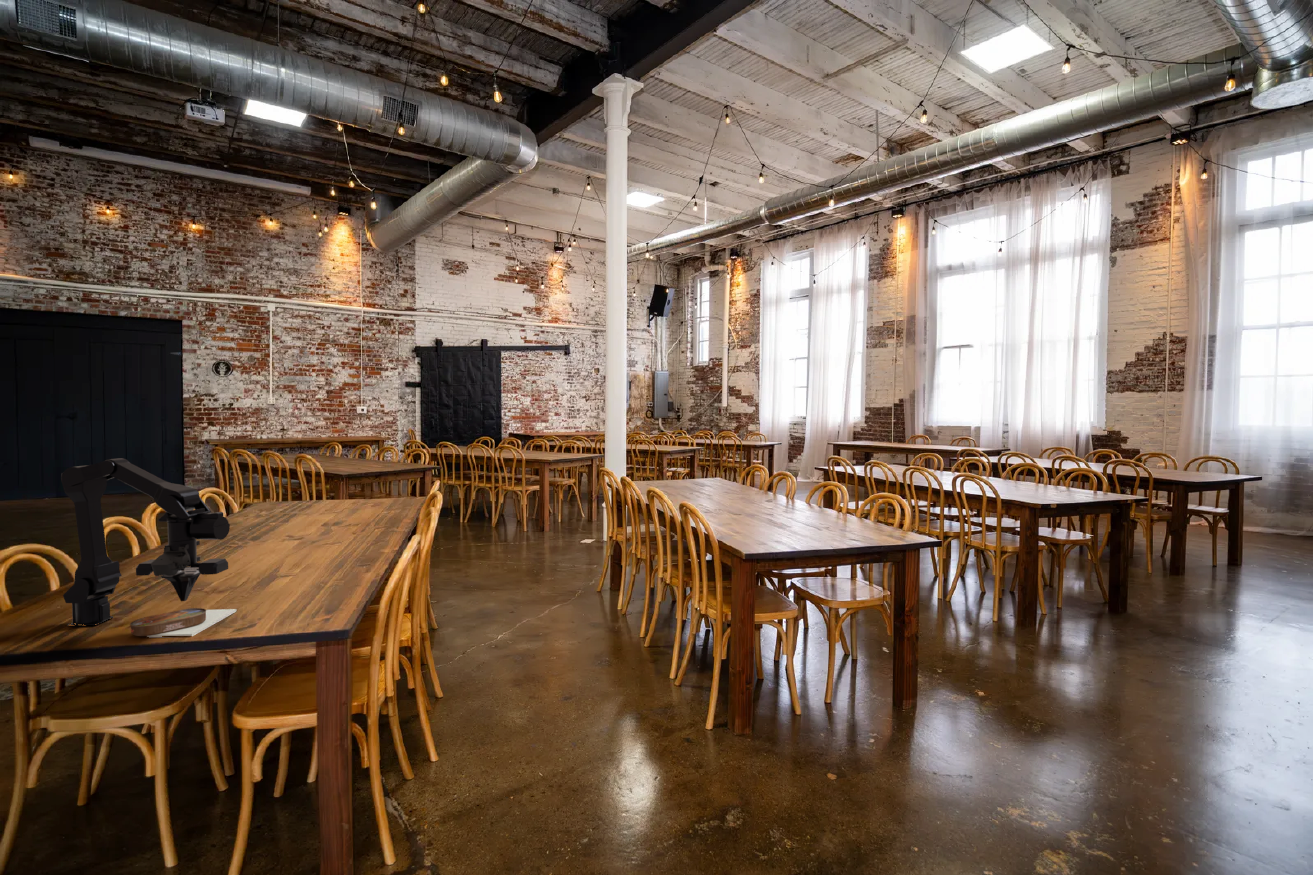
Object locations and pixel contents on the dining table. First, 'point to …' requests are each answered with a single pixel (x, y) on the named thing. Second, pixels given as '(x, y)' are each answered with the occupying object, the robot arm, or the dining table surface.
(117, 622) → the dining table surface
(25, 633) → the dining table surface
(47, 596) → the dining table surface
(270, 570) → the dining table surface
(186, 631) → the mat
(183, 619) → the brown oval food container
